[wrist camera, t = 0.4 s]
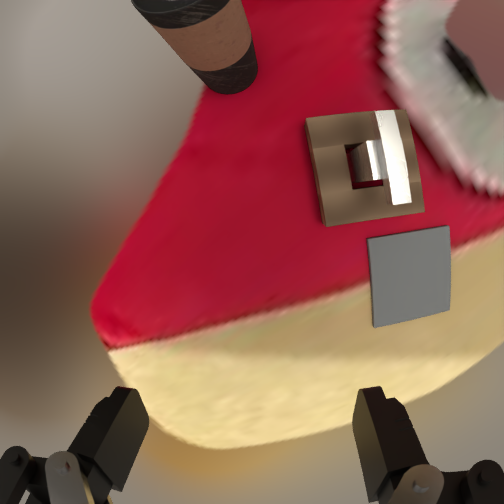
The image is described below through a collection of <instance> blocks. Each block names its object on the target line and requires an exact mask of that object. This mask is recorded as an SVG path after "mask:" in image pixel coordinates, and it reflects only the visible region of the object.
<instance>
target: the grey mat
mask: <svg viewBox="0 0 504 504" xmlns="http://www.w3.org/2000/svg"><path fill="white" fill-rule="evenodd" d="M367 247H368V257H369V268H370V281H371V296H372V317H373V327H374V328H377V327H382V326H386V325H391V324H396V323H400V322H405V321H409V320H413V319H417V318H421V317H425V316H429V315H433V314H437V313H441V312H445V311H448V310H450V290H451V251H450V230H449V226H448V225H445V226H438V227H432V228H426V229H420V230H414V231H408V232H402V233H396V234H390V235H384V236H377V237H371V238H367Z"/></svg>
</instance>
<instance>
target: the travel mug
mask: <svg viewBox="0 0 504 504" xmlns="http://www.w3.org/2000/svg"><path fill="white" fill-rule="evenodd" d="M131 2H132V4H133V5H134V7H135V8H136V9H137V10H138V11H139V12H140V13H141V15H142V16H143V17H144V18H145V19H146V20H147V21H148V22H149V23H150V24H151V25H152V26H153V27H154V28H155V30H156V31H157V32H158V33H159V34H160V35H161V36H162V37H163V38H164V39H165V41H166V42H167V43H168V44H169V45H170V46H171V47H172V49H173V50H174V51H175V52H176V53H177V54H178V55H179V57H180V58H181V59H182V60H183V61H184V62H185V63H186V64H187V65H188V66H189V67H190V68H191V69H192V70H193V71H194V73H195V74H196V75H197V76H198V77H199V78H200V79H201V80H202V81H203V82H204V83H205V84H206V85H207V86H208V87H209V88H211V89H212V90H213V91H215V92H218V93H221V94H234V93H238V92H241V91H243V90H245V89H246V88H247V87H249V86H250V85H251V84H252V83H253V81H254V80H255V78H256V75H257V71H258V66H257V60H256V55H255V50H254V45H253V40H252V35H251V31H250V28H249V24H248V21H247V18H246V15H245V12H244V9H243V5H242V2H241V0H131Z"/></svg>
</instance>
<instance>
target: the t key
mask: <svg viewBox="0 0 504 504" xmlns="http://www.w3.org/2000/svg"><path fill="white" fill-rule="evenodd" d="M370 120H371V124H372V129H373V133H374V137H375V140H371V141H366V142H364V143H363V144H361V145H360V146H358V147H357V148H355V149H354V150H352V151H351V152H349V153H348V154H346V157H347V162H348V167H349V172H350V178H351V183H357V182H364V181H372V180H380V179H383V185H384V191H385V198H386V204H389V205H397V204H404V203H411V202H412V201H411V193H410V187H409V180H408V170H407V164H406V159H405V154H404V149H403V144H402V139H401V137H400V133H399V129H398V124H397V120H396V116H395V112H394V110H385V111H375V112H373V113H372V114H371V115H370Z"/></svg>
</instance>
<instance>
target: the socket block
mask: <svg viewBox="0 0 504 504" xmlns="http://www.w3.org/2000/svg"><path fill="white" fill-rule="evenodd" d="M383 111H385V110H383ZM373 112H375V111H368V112H356V113H345V114H336V115H327V116H319V117H312V118H306V121H305V125H304V127H305V132H306V137H307V141H308V146H309V151H310V156H311V161H312V166H313V172H314V177H315V182H316V188H317V194H318V199H319V205H320V211H321V218H322V223H323V224H324V225H325V226H326V227H329V226H335V225H341V224H348V223H354V222H361V221H367V220H374V219H380V218H387V217H394V216H400V215H407V214H414V213H421V212H425V209H424V201H423V193H422V186H421V179H420V173H419V167H418V161H417V156H416V151H415V146H414V141H413V136H412V132H411V128H410V123H409V119H408V115H407V111H406V110H394V112H395V116H396V120H397V124H398V129H399V133H400V137H401V139H402V144H403V149H404V154H405V159H406V164H407V170H408V180H409V187H410V193H411V201H412V202H411V203H404V204H397V205H389V204H386V198H385V191H384V185H381V186H373V187H366V188H358V189H352V184H351V178H350V172H349V167H348V162H347V157H346V152H345V149H349V148H357V147H358V146H360V145H361V144H363V143H364V142H366V141H371V140H375V137H374V133H373V129H372V124H371V120H370V115H371V114H372V113H373Z"/></svg>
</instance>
